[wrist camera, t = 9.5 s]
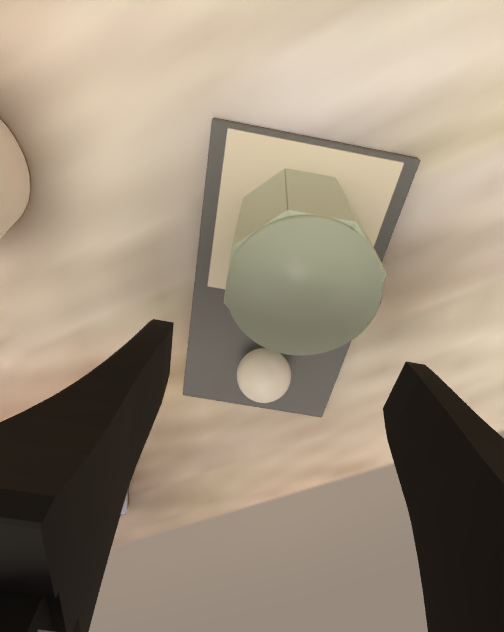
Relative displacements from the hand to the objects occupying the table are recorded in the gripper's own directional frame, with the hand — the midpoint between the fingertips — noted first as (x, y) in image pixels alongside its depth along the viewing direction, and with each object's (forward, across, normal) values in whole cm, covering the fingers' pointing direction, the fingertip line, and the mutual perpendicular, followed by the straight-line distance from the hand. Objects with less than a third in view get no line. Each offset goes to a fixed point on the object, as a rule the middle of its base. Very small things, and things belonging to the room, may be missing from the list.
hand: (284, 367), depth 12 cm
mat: (+9, 0, +3) cm, 10 cm away
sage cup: (+9, 0, -1) cm, 9 cm away
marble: (+7, 0, +7) cm, 10 cm away
